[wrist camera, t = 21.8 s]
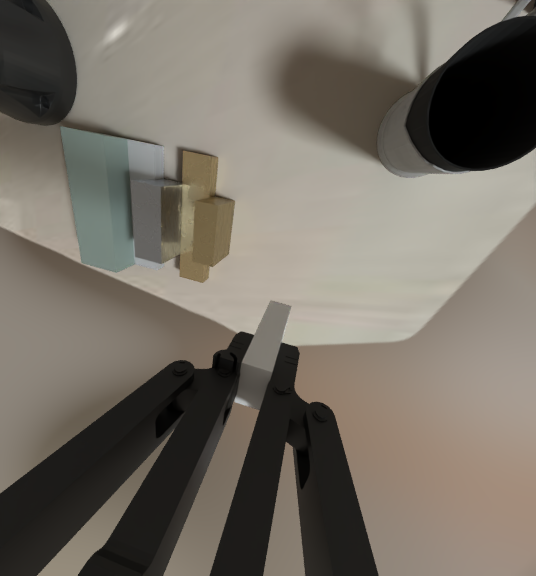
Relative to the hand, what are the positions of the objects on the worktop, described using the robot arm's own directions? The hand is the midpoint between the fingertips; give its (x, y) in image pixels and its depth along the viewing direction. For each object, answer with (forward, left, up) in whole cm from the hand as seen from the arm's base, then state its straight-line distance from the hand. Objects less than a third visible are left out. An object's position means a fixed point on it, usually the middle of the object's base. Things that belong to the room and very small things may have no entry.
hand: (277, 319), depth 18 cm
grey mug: (+10, +18, -21) cm, 29 cm away
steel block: (-20, 0, -21) cm, 29 cm away
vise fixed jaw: (-27, 0, -20) cm, 34 cm away
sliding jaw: (-14, 0, -20) cm, 25 cm away
